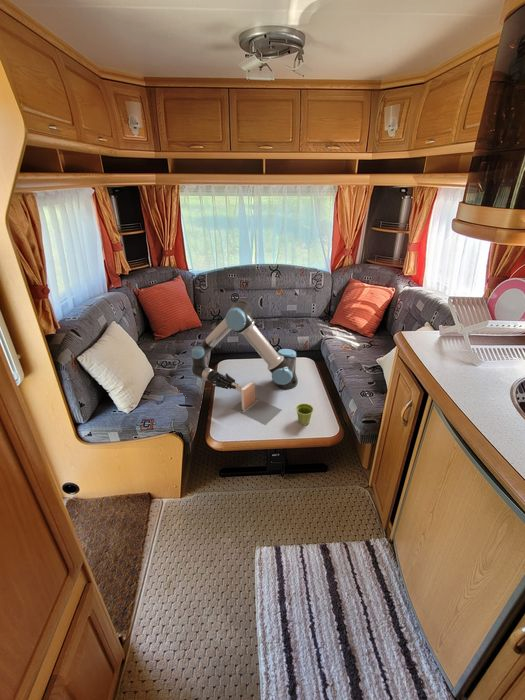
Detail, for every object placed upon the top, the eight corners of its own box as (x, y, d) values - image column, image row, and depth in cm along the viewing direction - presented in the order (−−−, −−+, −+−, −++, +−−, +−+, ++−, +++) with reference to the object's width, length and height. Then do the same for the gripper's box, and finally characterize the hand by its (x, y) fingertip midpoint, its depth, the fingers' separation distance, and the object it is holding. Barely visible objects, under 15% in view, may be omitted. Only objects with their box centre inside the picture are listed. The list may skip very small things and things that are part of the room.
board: (231, 410, 198) (231, 407, 197) (249, 396, 210) (249, 394, 209) (265, 426, 186) (265, 423, 185) (282, 411, 197) (282, 408, 196)
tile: (242, 409, 197) (241, 389, 190) (252, 400, 204) (252, 380, 197) (244, 410, 196) (243, 390, 190) (255, 401, 203) (254, 381, 197)
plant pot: (294, 415, 194) (295, 403, 189) (311, 415, 193) (312, 403, 189) (295, 426, 185) (296, 414, 181) (313, 427, 185) (314, 414, 181)
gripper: (218, 376, 217) (248, 388, 204) (204, 385, 208) (233, 399, 195) (218, 365, 213) (247, 378, 201) (202, 375, 204) (233, 388, 192)
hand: (240, 388), depth 198 cm, fingers closed
